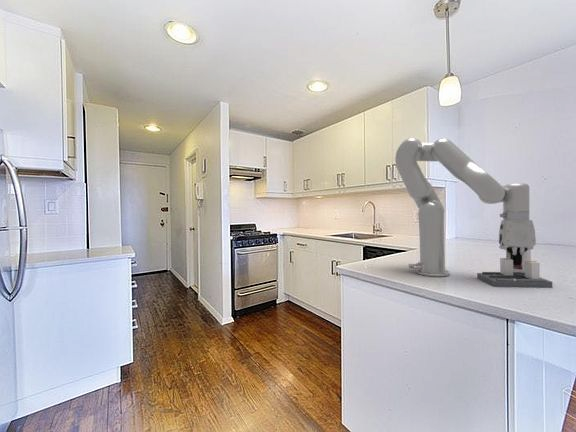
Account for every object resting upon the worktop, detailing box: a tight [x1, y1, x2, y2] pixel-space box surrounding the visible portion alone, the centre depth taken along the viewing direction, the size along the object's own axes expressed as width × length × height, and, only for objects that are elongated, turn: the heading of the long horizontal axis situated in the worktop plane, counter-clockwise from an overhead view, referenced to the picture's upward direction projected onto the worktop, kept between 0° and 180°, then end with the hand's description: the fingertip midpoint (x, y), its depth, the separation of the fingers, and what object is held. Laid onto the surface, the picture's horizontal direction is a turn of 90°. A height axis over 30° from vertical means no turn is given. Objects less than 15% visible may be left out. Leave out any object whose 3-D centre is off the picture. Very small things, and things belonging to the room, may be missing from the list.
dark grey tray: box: [476, 271, 553, 289], centre depth 100 cm, size 18×12×3 cm, turn 79°
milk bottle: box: [505, 246, 532, 272], centre depth 110 cm, size 8×8×20 cm
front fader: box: [525, 260, 541, 279], centre depth 96 cm, size 2×4×6 cm
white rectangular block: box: [499, 257, 513, 275], centre depth 102 cm, size 2×4×6 cm
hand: (516, 264), depth 102 cm, fingers closed
